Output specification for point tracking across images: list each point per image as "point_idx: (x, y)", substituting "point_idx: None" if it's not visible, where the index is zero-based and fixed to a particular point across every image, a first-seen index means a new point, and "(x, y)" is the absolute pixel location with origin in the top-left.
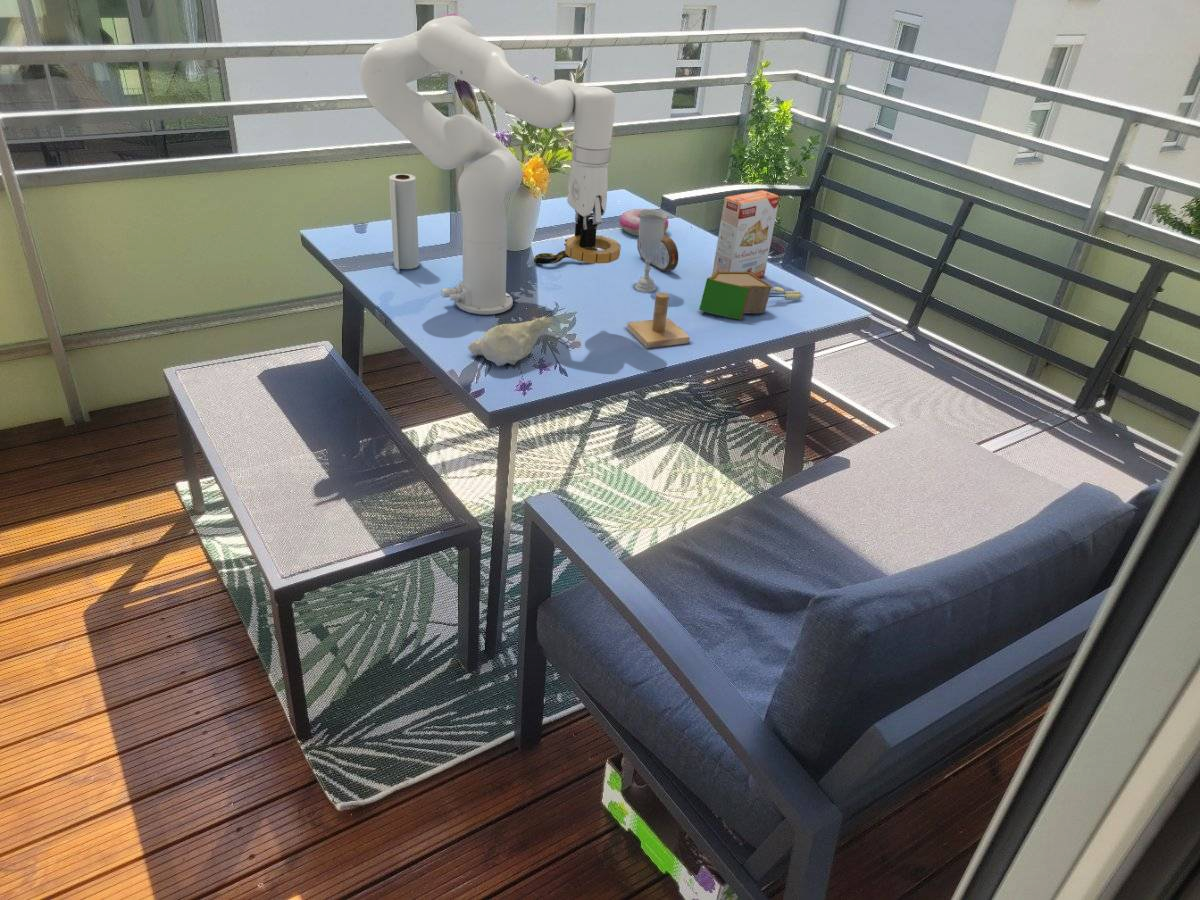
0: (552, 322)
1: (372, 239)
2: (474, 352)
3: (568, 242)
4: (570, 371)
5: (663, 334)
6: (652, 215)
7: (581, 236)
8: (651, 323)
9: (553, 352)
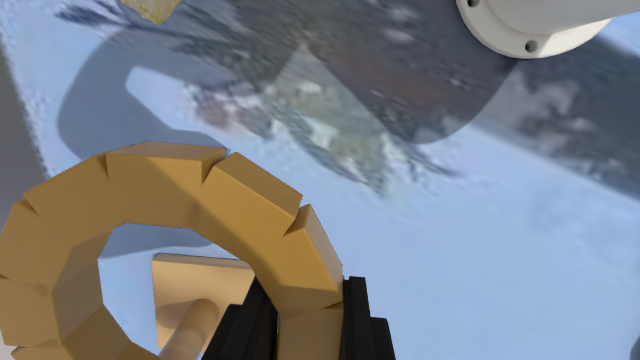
0: (141, 15)
1: None
2: None
3: (218, 189)
4: (81, 35)
5: (180, 308)
6: None
7: (241, 310)
8: None
9: (185, 38)
